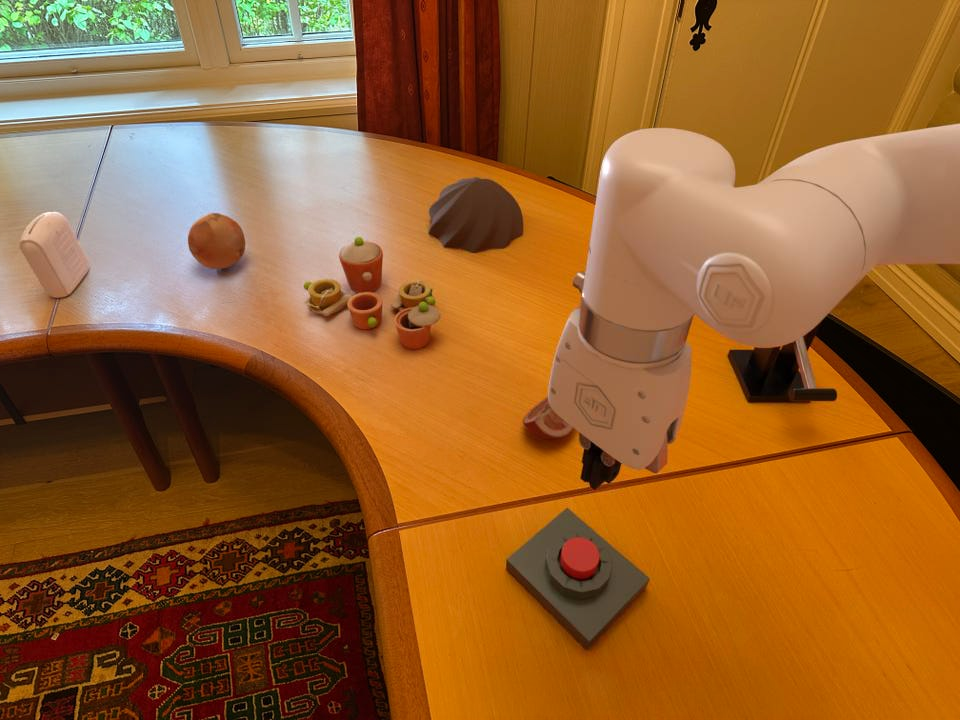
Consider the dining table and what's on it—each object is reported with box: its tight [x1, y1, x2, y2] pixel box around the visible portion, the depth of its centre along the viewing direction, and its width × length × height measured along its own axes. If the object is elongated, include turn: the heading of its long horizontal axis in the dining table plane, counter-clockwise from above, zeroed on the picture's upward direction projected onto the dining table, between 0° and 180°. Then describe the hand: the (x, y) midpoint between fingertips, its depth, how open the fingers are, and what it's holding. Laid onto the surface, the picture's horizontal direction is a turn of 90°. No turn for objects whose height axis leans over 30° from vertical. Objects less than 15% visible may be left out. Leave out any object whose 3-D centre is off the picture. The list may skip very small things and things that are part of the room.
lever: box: [788, 337, 838, 402], centre depth 81 cm, size 13×6×2 cm, turn 1°
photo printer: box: [18, 211, 91, 299], centre depth 104 cm, size 10×4×12 cm, turn 4°
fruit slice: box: [522, 395, 574, 440], centre depth 82 cm, size 8×7×5 cm
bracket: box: [727, 320, 823, 403], centre depth 86 cm, size 10×9×13 cm
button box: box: [505, 507, 651, 651], centre depth 66 cm, size 12×10×4 cm
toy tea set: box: [303, 236, 441, 350], centre depth 99 cm, size 26×16×10 cm, turn 58°
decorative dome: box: [427, 176, 524, 254], centre depth 119 cm, size 19×20×10 cm
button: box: [560, 537, 600, 579], centre depth 64 cm, size 4×4×2 cm
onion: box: [187, 212, 246, 270], centre depth 109 cm, size 10×10×10 cm
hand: (598, 475), depth 54 cm, fingers closed
